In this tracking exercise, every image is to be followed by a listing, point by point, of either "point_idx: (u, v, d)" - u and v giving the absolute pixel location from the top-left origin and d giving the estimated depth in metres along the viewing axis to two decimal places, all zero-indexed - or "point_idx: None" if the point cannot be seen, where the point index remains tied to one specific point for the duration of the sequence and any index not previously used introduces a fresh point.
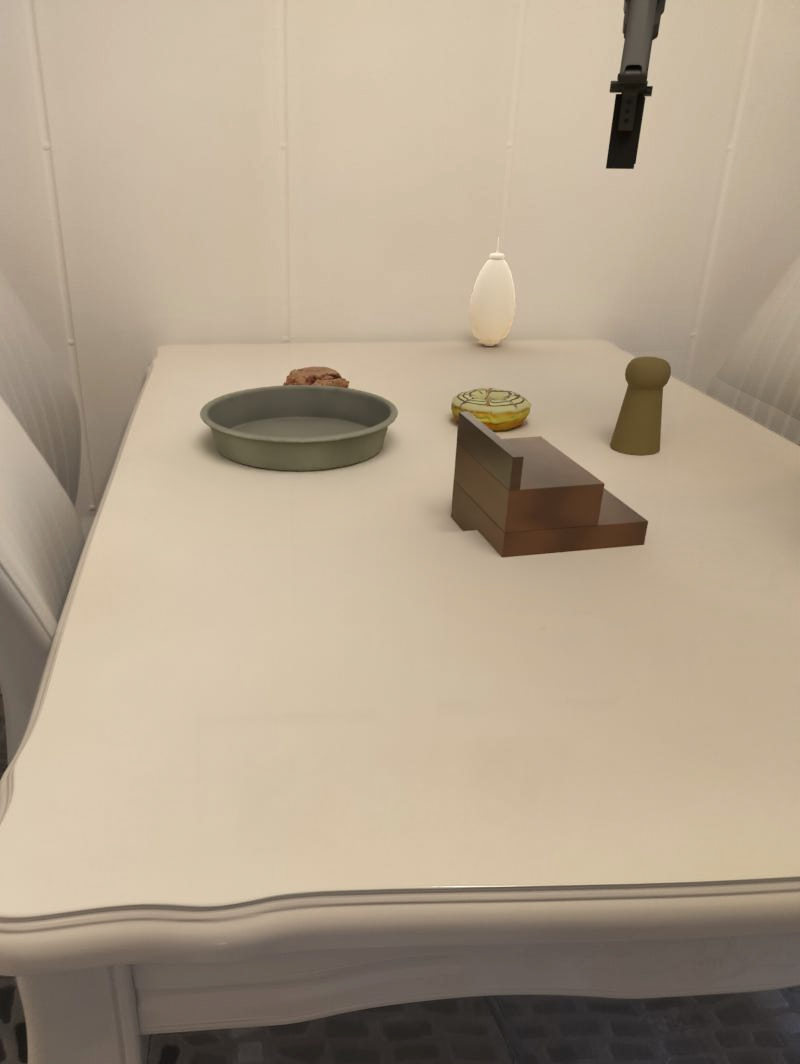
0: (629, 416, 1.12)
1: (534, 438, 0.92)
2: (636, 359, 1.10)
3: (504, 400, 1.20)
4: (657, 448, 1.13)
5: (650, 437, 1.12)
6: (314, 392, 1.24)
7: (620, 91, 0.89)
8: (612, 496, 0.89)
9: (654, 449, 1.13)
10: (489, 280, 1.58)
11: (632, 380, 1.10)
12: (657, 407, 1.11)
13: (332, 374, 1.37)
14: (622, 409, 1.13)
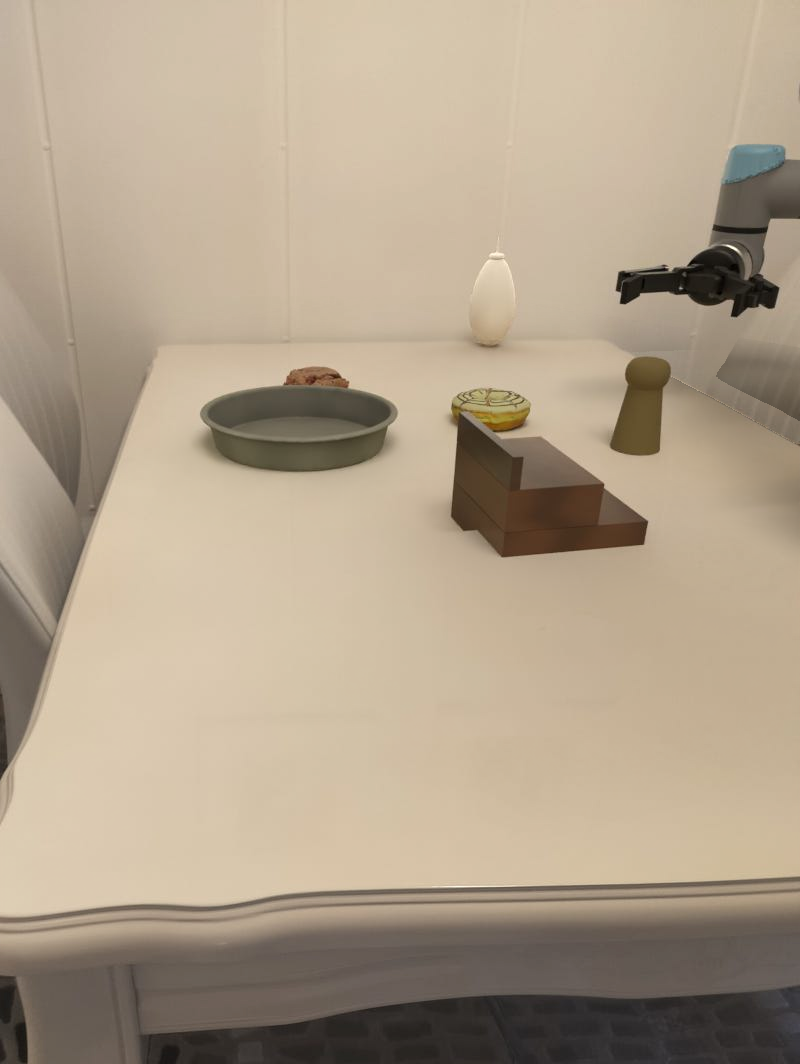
0: (629, 416, 1.12)
1: (534, 438, 0.92)
2: (636, 359, 1.10)
3: (504, 400, 1.20)
4: (657, 448, 1.13)
5: (650, 437, 1.12)
6: (314, 392, 1.24)
7: None
8: (612, 496, 0.89)
9: (654, 449, 1.13)
10: (489, 280, 1.58)
11: (632, 380, 1.10)
12: (657, 407, 1.11)
13: (332, 374, 1.37)
14: (622, 409, 1.13)
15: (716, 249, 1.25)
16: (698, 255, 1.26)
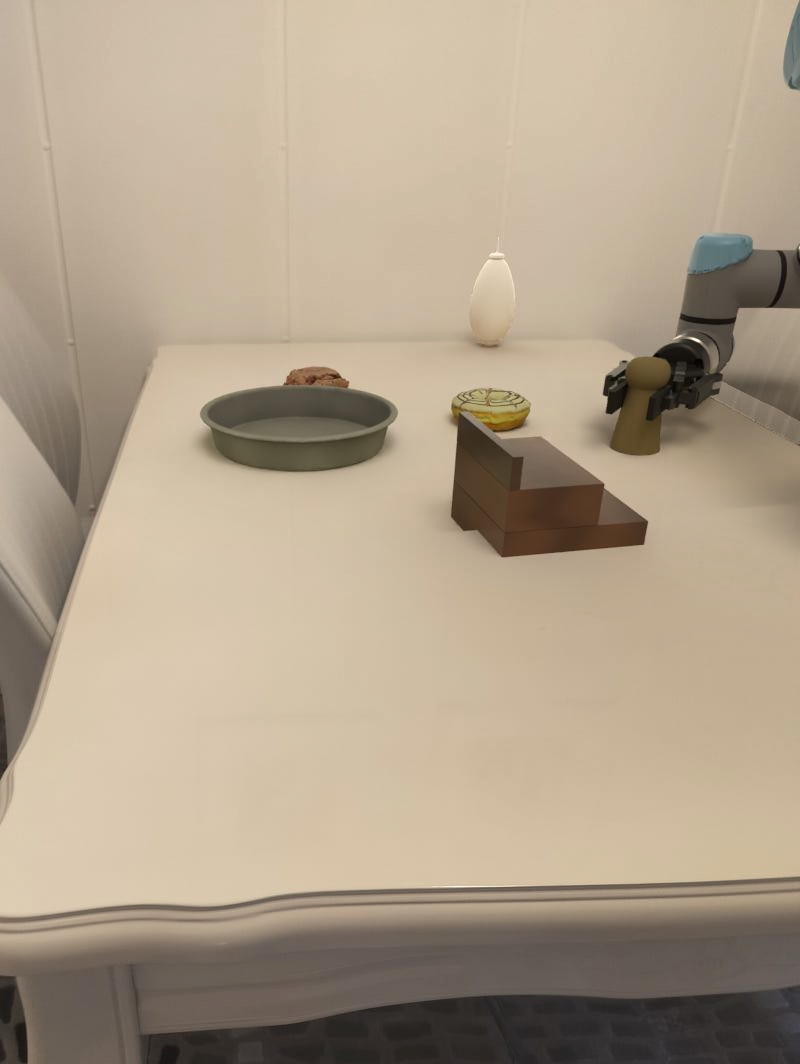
0: (629, 416, 1.12)
1: (534, 438, 0.92)
2: (636, 359, 1.10)
3: (504, 400, 1.20)
4: (657, 448, 1.13)
5: (650, 437, 1.12)
6: (314, 392, 1.24)
7: None
8: (612, 496, 0.89)
9: (654, 449, 1.13)
10: (489, 280, 1.58)
11: (632, 380, 1.10)
12: None
13: (332, 374, 1.37)
14: (622, 409, 1.13)
15: (679, 343, 1.21)
16: (661, 349, 1.22)
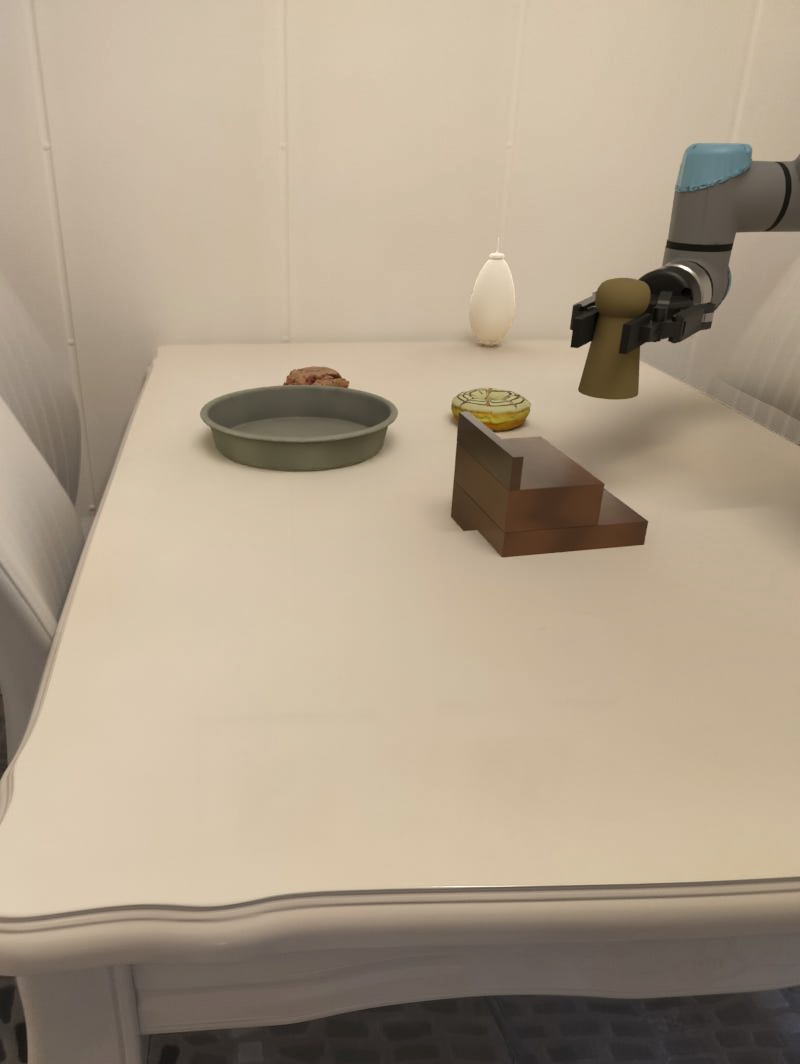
0: (600, 352, 0.92)
1: (534, 438, 0.92)
2: (608, 280, 0.90)
3: (504, 400, 1.20)
4: (635, 391, 0.93)
5: (625, 377, 0.92)
6: (314, 392, 1.24)
7: None
8: (612, 496, 0.89)
9: (631, 393, 0.93)
10: (489, 280, 1.58)
11: (603, 306, 0.90)
12: None
13: (332, 374, 1.37)
14: (592, 344, 0.93)
15: (664, 270, 1.00)
16: (642, 277, 1.02)
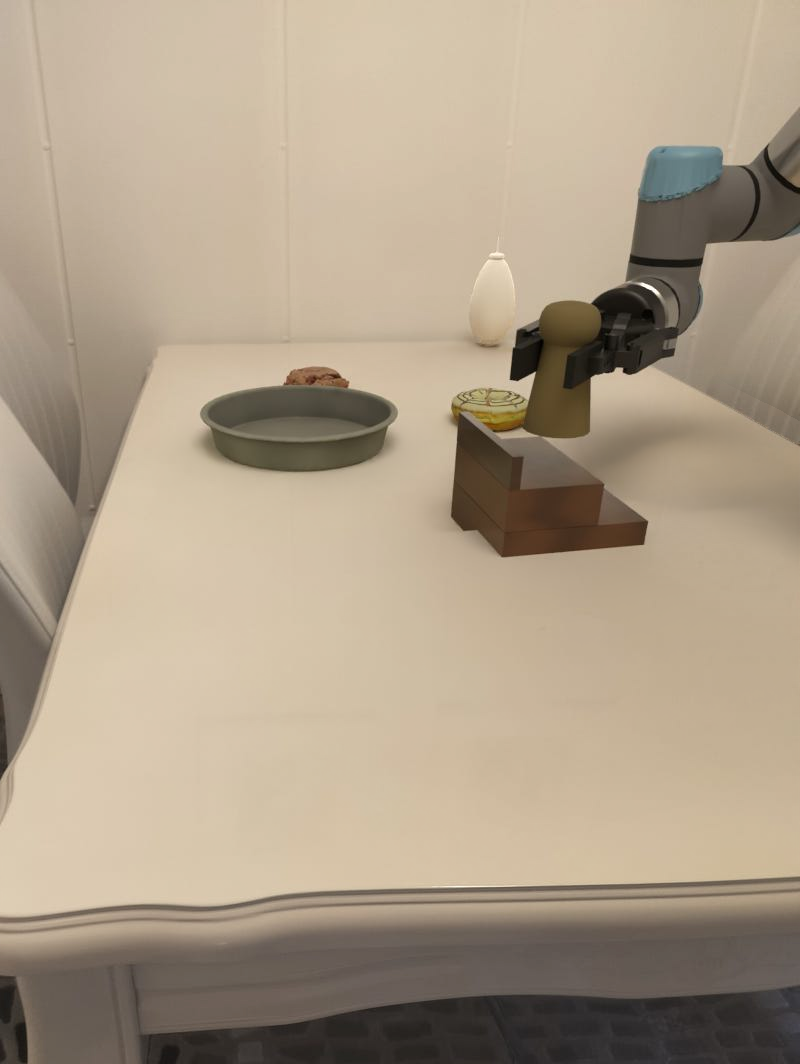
0: (544, 384, 0.80)
1: (534, 438, 0.92)
2: (553, 304, 0.79)
3: (504, 400, 1.20)
4: (585, 429, 0.82)
5: (574, 413, 0.80)
6: (314, 392, 1.24)
7: None
8: (612, 496, 0.89)
9: (580, 431, 0.81)
10: (489, 280, 1.58)
11: (547, 333, 0.78)
12: None
13: (332, 374, 1.37)
14: (536, 375, 0.81)
15: (622, 289, 0.89)
16: (599, 297, 0.91)
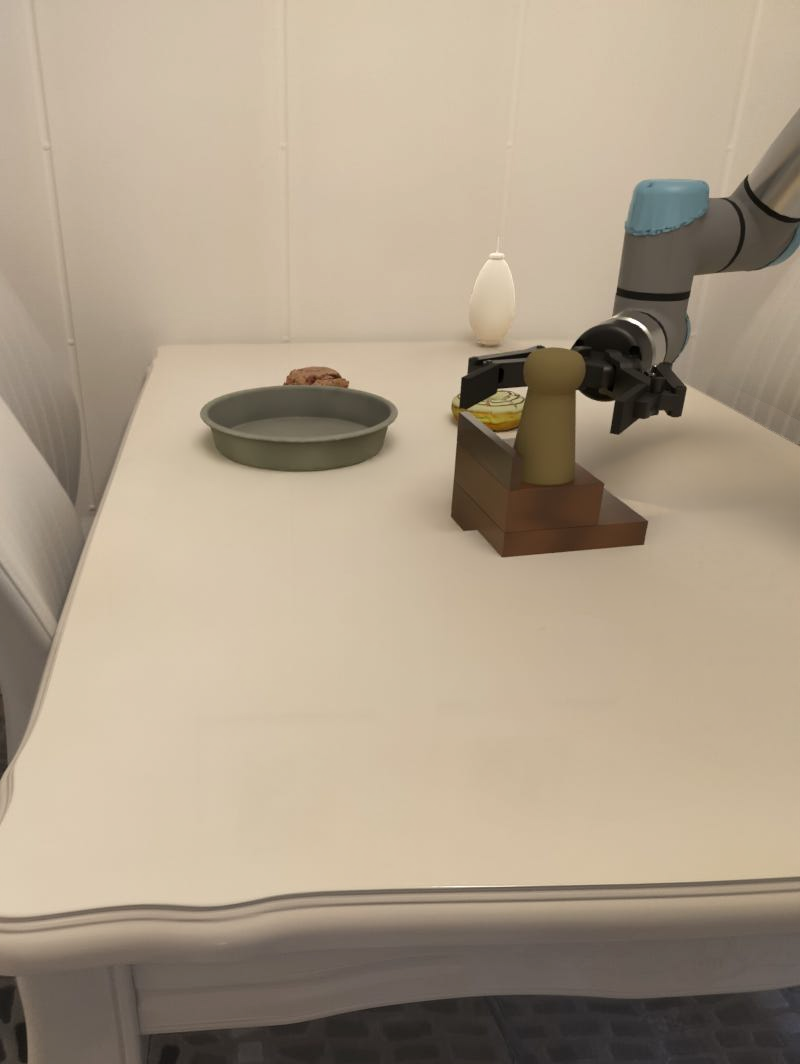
0: (529, 431, 0.80)
1: None
2: (537, 351, 0.78)
3: (504, 400, 1.20)
4: (570, 475, 0.81)
5: (558, 460, 0.80)
6: (314, 392, 1.24)
7: None
8: (612, 496, 0.89)
9: (565, 477, 0.81)
10: (489, 280, 1.58)
11: (531, 381, 0.78)
12: (567, 418, 0.79)
13: (332, 374, 1.37)
14: (521, 421, 0.81)
15: (609, 325, 0.89)
16: (586, 333, 0.90)
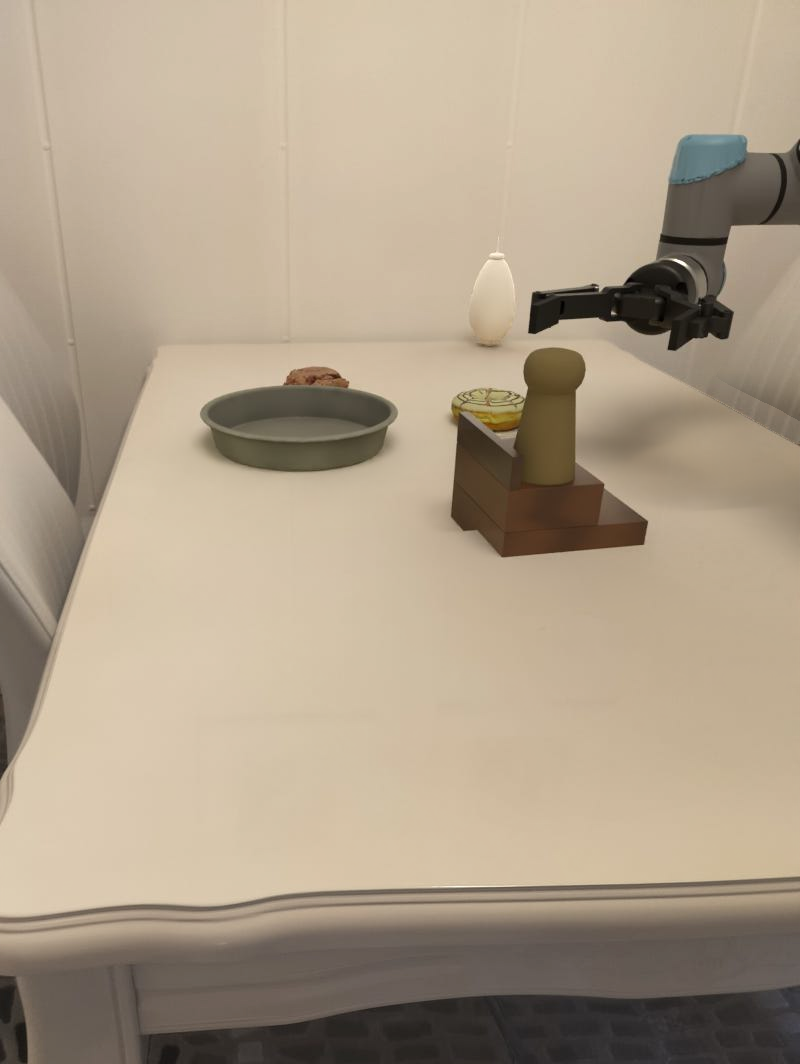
0: (529, 431, 0.80)
1: None
2: (537, 351, 0.78)
3: (504, 400, 1.20)
4: (570, 475, 0.81)
5: (558, 460, 0.80)
6: (314, 392, 1.24)
7: None
8: (612, 496, 0.89)
9: (565, 477, 0.81)
10: (489, 280, 1.58)
11: (531, 381, 0.78)
12: (567, 418, 0.79)
13: (332, 374, 1.37)
14: (521, 421, 0.81)
15: (658, 264, 0.98)
16: (636, 272, 0.99)
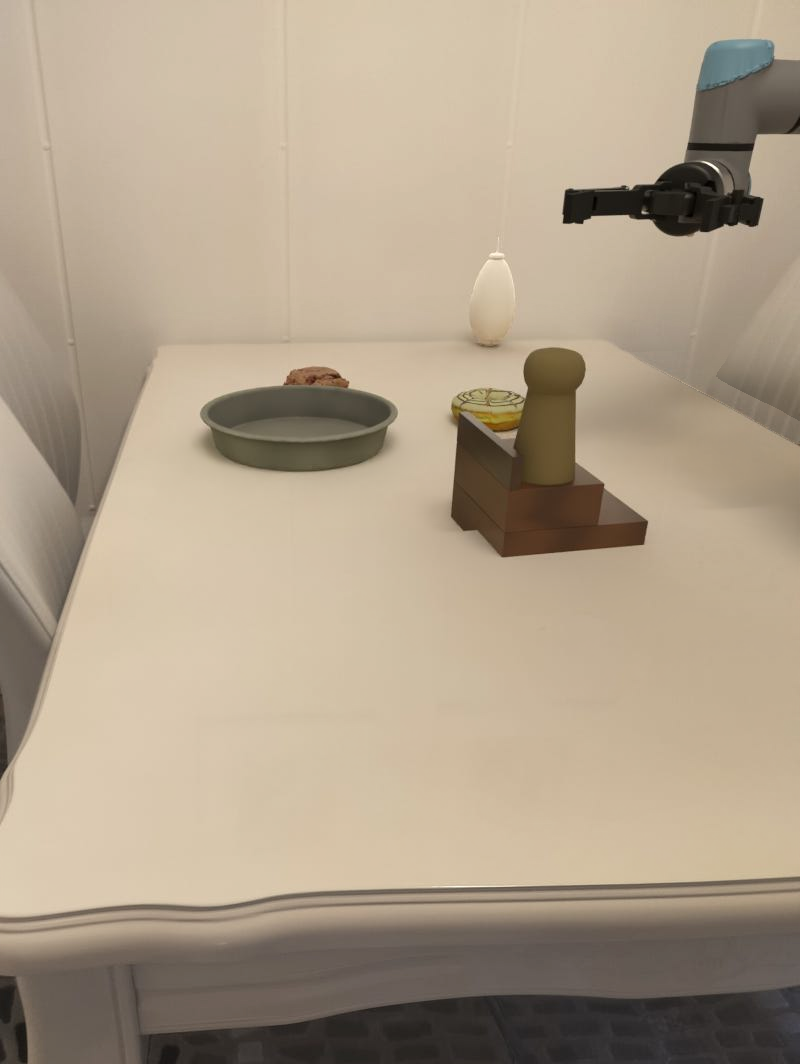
0: (529, 431, 0.80)
1: None
2: (537, 351, 0.78)
3: (504, 400, 1.20)
4: (570, 475, 0.81)
5: (558, 460, 0.80)
6: (314, 392, 1.24)
7: None
8: (612, 496, 0.89)
9: (565, 477, 0.81)
10: (489, 280, 1.58)
11: (531, 381, 0.78)
12: (567, 418, 0.79)
13: (332, 374, 1.37)
14: (521, 421, 0.81)
15: (687, 163, 1.01)
16: (666, 172, 1.02)
